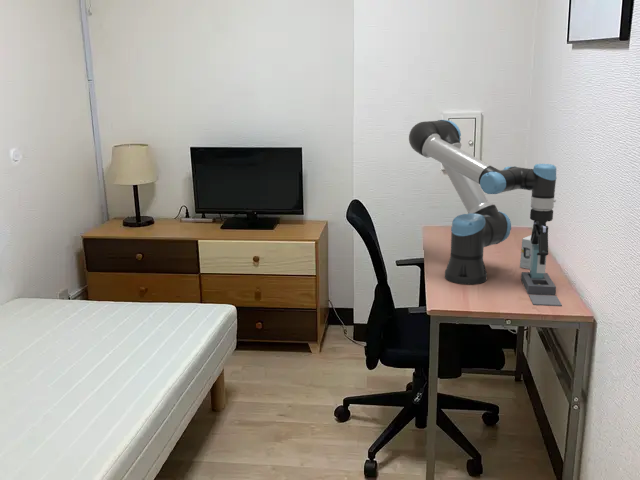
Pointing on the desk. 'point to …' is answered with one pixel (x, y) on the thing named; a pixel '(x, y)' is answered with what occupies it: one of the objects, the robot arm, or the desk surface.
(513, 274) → the desk surface
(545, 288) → the header
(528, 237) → the ink box
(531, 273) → the plug
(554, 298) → the pad
